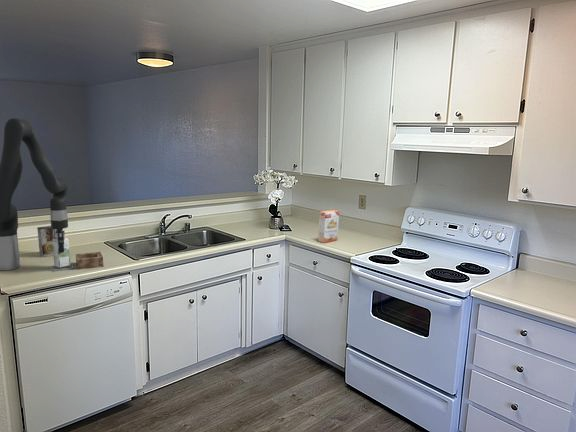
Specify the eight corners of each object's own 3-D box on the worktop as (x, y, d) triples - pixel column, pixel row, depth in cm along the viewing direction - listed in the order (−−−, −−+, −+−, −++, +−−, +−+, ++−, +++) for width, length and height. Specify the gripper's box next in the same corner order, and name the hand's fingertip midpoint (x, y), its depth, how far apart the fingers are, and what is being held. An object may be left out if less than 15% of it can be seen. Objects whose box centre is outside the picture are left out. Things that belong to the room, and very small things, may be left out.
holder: (77, 269, 210) (77, 260, 210) (76, 263, 221) (75, 254, 220) (103, 266, 216) (102, 257, 216) (100, 260, 227) (100, 251, 226)
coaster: (52, 271, 206) (52, 270, 206) (52, 266, 214) (52, 265, 214) (73, 269, 211) (73, 268, 211) (72, 264, 218) (72, 263, 218)
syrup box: (66, 263, 216) (64, 236, 214) (71, 265, 212) (68, 238, 210) (54, 266, 212) (52, 238, 209) (59, 268, 208) (56, 240, 206)
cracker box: (324, 243, 278) (325, 212, 275) (317, 241, 283) (319, 211, 279) (338, 240, 287) (339, 210, 284) (331, 238, 292) (333, 209, 288)
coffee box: (57, 252, 241) (54, 225, 238) (60, 254, 236) (58, 226, 233) (39, 254, 234) (36, 227, 231) (42, 257, 230) (40, 228, 227)
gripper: (50, 216, 212) (52, 248, 215) (50, 221, 200) (53, 254, 203) (66, 215, 216) (69, 246, 219) (68, 220, 204) (70, 253, 206)
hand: (61, 250), depth 211 cm, fingers open, 7 cm apart
